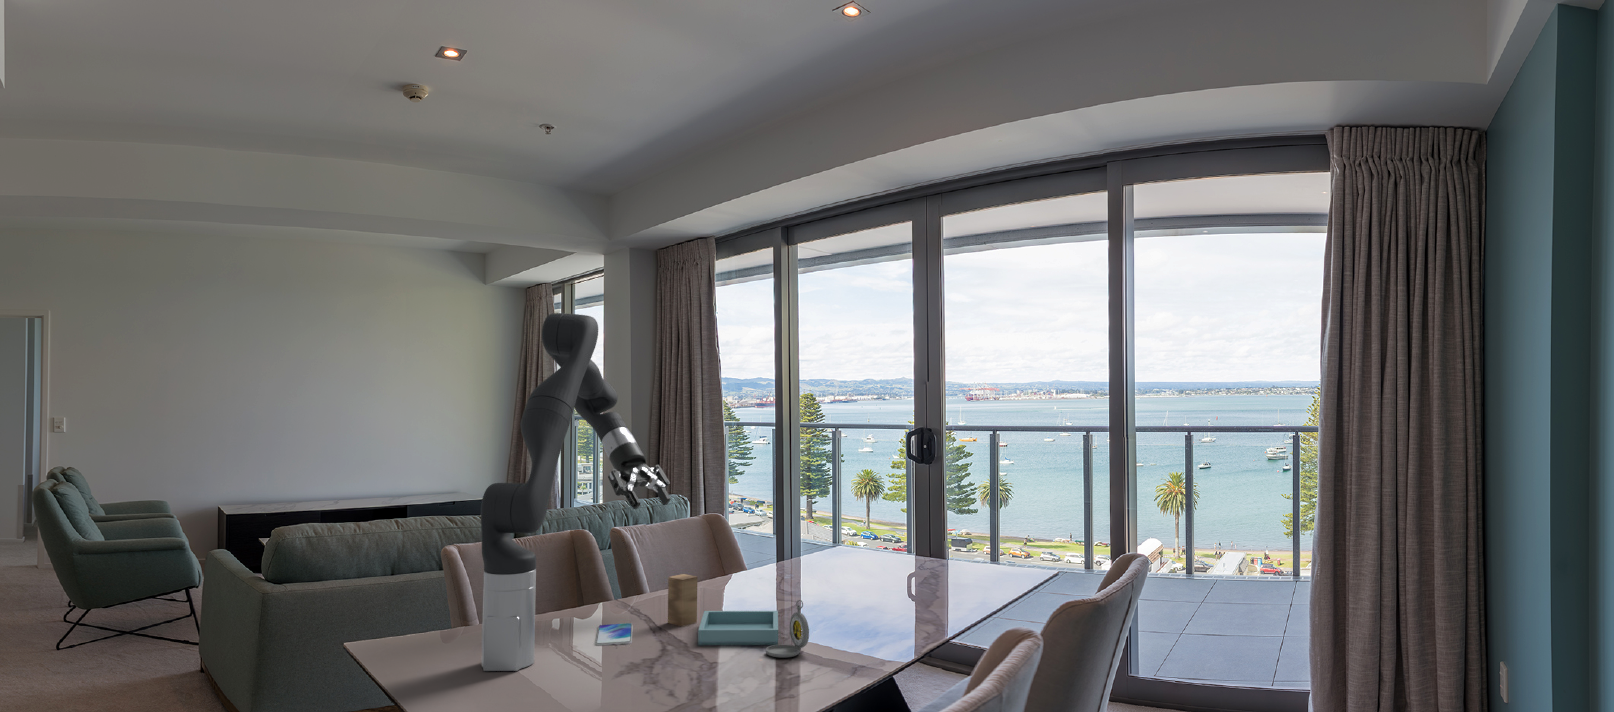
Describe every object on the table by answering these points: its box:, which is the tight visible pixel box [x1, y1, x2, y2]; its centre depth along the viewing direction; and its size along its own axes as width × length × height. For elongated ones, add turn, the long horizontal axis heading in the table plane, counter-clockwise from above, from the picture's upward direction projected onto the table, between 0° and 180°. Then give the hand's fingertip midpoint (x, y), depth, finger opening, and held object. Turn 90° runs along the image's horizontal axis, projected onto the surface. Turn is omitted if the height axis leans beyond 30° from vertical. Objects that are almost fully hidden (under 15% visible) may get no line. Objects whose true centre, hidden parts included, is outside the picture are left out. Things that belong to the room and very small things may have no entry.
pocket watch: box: [765, 599, 810, 659], centre depth 170 cm, size 8×8×10 cm
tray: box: [697, 610, 779, 646], centre depth 184 cm, size 16×16×3 cm
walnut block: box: [667, 573, 698, 627], centre depth 193 cm, size 4×4×10 cm
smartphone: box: [594, 622, 633, 647], centre depth 183 cm, size 7×1×15 cm
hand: (652, 504), depth 201 cm, fingers open, 8 cm apart
